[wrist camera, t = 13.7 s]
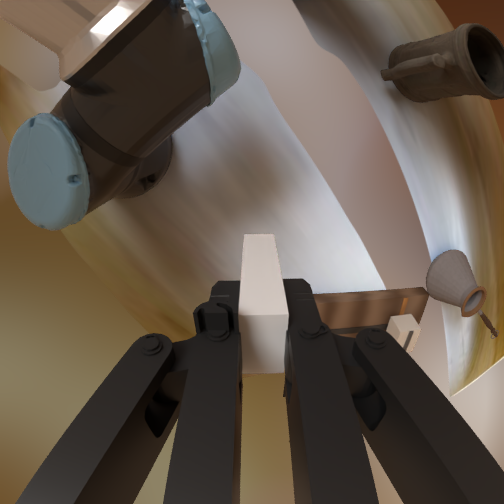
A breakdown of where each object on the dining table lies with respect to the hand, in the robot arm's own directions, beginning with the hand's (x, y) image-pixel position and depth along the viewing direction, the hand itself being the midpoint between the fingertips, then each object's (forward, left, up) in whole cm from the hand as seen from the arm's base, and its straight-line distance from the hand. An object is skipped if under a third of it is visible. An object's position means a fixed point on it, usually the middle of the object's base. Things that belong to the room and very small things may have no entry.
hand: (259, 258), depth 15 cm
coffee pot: (+43, -21, -30) cm, 56 cm away
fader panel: (+19, -29, -29) cm, 45 cm away
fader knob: (+29, -29, -26) cm, 48 cm away
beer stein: (+25, +18, -30) cm, 43 cm away
